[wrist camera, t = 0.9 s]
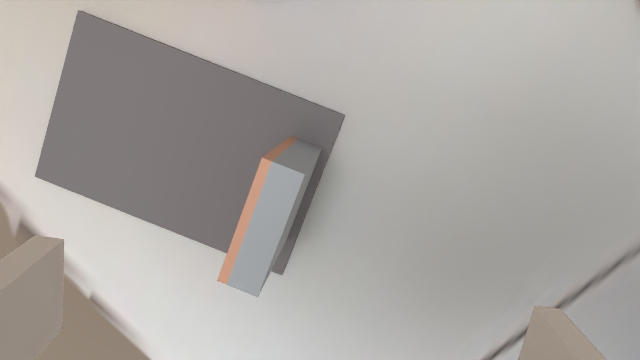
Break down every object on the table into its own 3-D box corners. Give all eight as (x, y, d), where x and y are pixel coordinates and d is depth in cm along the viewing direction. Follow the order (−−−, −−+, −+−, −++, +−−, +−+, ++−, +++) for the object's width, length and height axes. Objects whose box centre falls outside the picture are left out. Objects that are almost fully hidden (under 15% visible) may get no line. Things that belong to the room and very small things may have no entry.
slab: (321, 148, 39) (305, 174, 28) (286, 239, 41) (257, 297, 30) (290, 136, 39) (262, 157, 28) (256, 227, 41) (217, 280, 30)
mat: (344, 115, 39) (344, 115, 38) (282, 273, 42) (281, 275, 41) (80, 11, 39) (78, 10, 39) (37, 175, 42) (34, 176, 42)
